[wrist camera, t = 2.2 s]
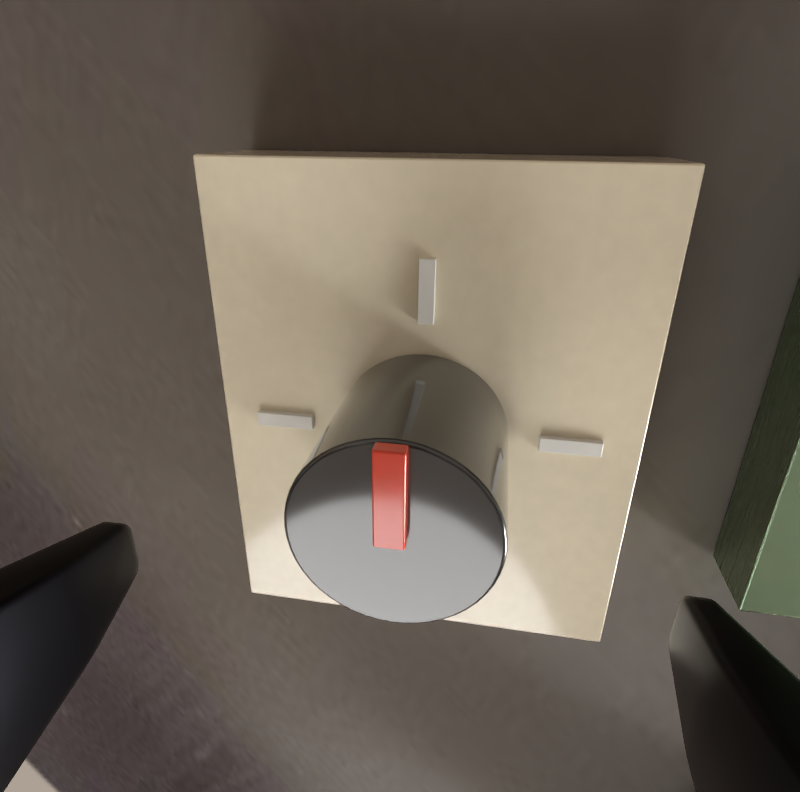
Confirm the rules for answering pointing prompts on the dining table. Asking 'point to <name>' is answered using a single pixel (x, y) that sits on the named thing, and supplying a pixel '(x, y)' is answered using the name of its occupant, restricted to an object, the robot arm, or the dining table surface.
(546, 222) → the cream dial base plate
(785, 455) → the green button base
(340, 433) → the knob
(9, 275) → the dining table surface
